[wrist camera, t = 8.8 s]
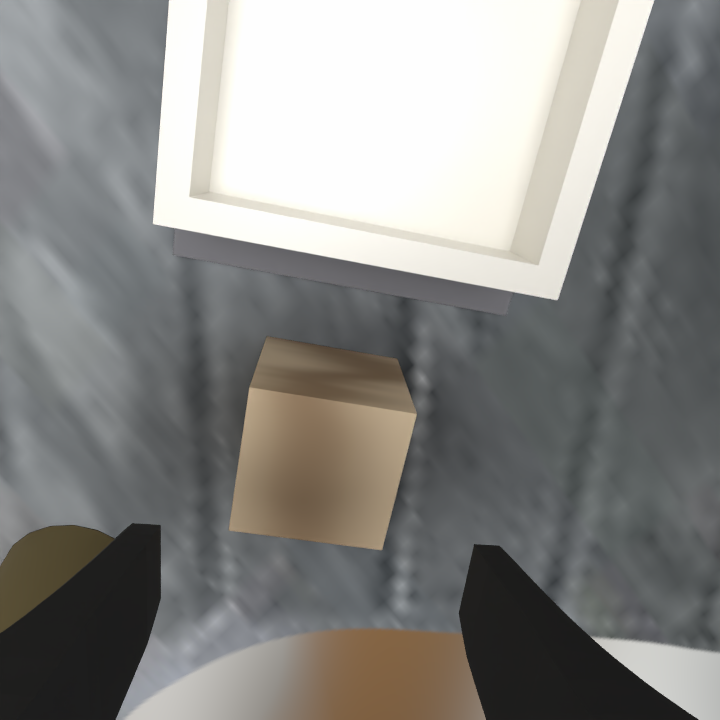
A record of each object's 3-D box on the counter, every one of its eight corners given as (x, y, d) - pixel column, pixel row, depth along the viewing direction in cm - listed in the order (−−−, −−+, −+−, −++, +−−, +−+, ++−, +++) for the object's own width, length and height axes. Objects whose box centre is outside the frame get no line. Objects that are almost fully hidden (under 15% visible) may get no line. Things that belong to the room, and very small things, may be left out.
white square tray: (606, -93, 16) (716, -194, 11) (503, 267, 19) (557, 299, 15) (235, -197, 15) (195, -357, 10) (196, 208, 18) (152, 223, 14)
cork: (61, 657, 25) (-125, 1004, 15) (-30, 562, 23) (-319, 888, 13) (174, 603, 24) (63, 928, 14) (90, 502, 22) (-111, 792, 12)
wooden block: (396, 357, 21) (416, 414, 17) (370, 470, 23) (381, 550, 18) (267, 335, 21) (249, 387, 16) (249, 452, 22) (228, 530, 18)
